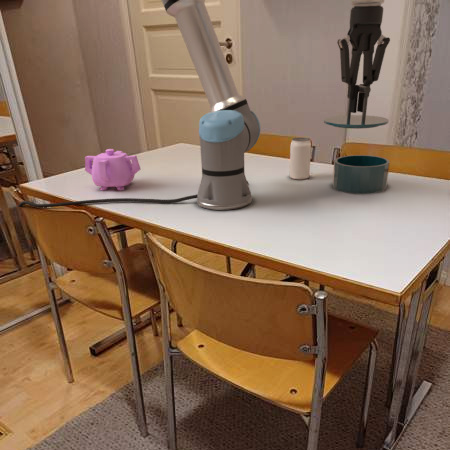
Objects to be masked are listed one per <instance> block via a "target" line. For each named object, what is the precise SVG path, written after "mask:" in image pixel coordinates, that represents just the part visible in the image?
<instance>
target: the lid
mask: <svg viewBox="0 0 450 450" xmlns="http://www.w3.org/2000/svg"><path fill="white" fill-rule="evenodd" d="M358 85H359V91H358V93H359V92H360V93H366V94H364V103H363V112H361V113H362V114H357V115H356V114H355V115H354V114H352V112H349V104H350V99H349V98H348V106H347V114H345V115H334V116H329V117H326V118H324V119H323V123H324V124H325V125H328V126H331V127H335V128H341V129H357V130H359V129H372V128H377V127H378V128H379V127H380V126H382V127H383V126H385V125H388V124H389V122H390V120H389V119H388V118H387V117H383V116H375V115H367V108H368V101H369V97H368V93H369V94H370V93H371V91H372V89H371V86H370V87H368V86H362V85H360V84H358Z"/></svg>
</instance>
